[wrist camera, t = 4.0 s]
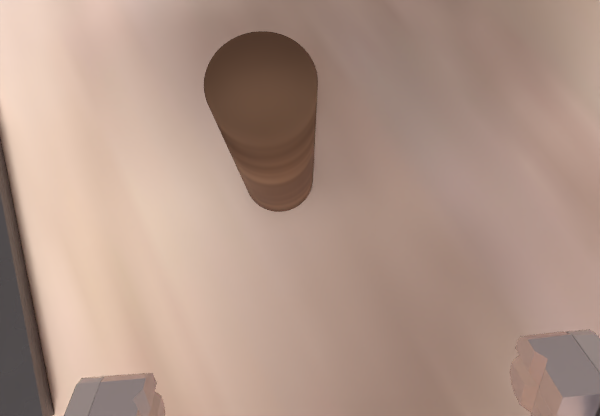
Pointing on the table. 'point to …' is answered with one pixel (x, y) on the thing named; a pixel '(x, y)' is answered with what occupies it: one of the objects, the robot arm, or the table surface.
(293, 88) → the rail post
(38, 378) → the peg socket base
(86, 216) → the table surface
